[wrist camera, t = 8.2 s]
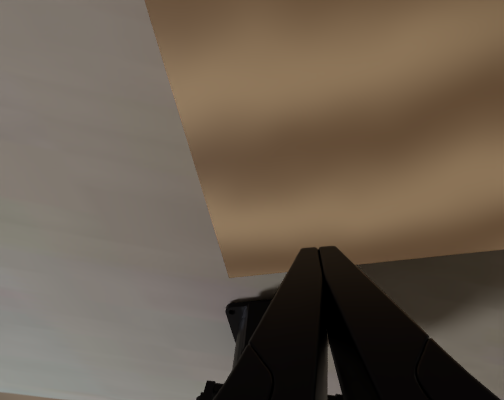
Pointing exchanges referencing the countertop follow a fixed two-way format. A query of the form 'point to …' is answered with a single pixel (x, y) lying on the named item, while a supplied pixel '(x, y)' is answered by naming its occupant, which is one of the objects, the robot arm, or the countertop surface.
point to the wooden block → (341, 124)
